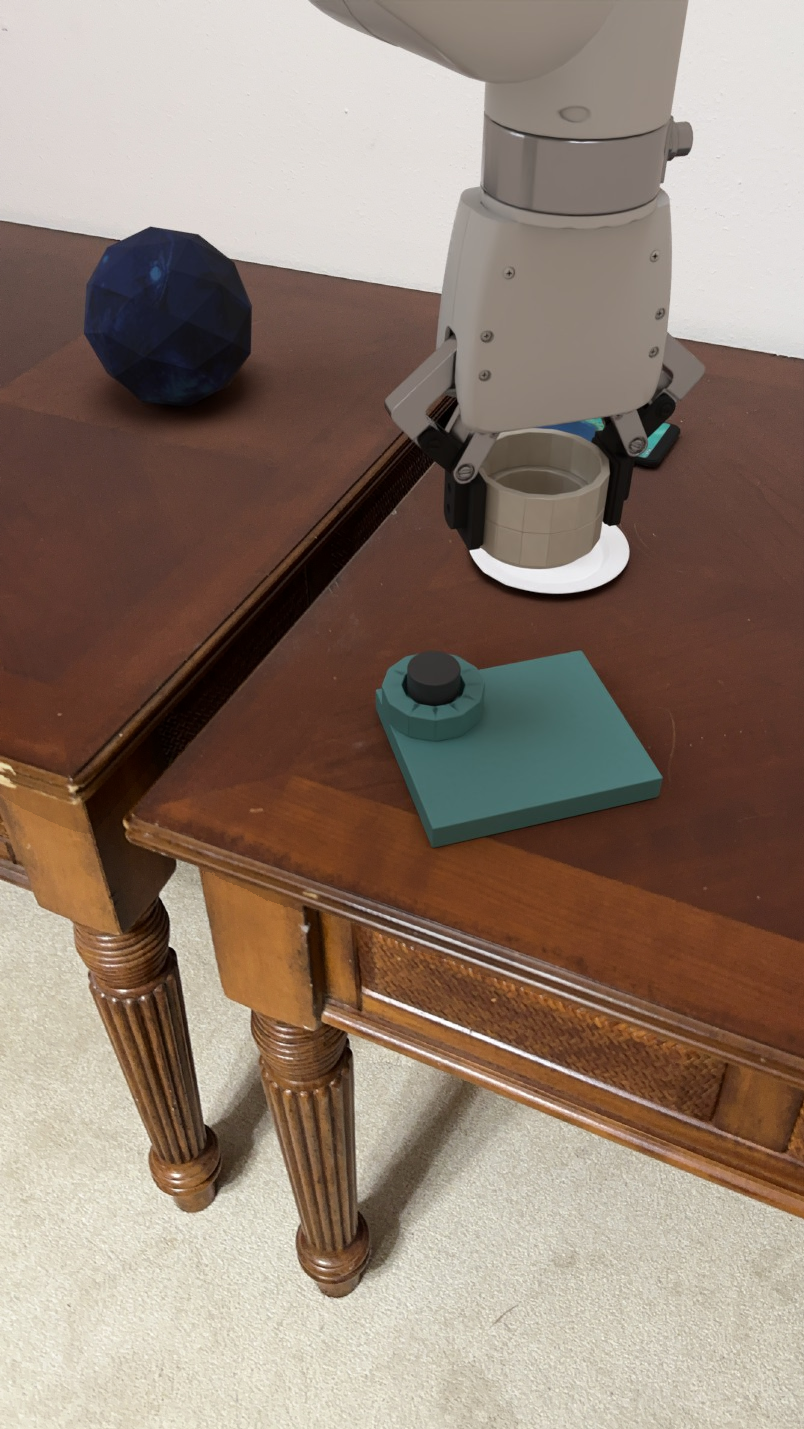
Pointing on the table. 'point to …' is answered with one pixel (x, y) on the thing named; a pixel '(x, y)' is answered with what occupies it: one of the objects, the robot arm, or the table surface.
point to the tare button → (433, 678)
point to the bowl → (543, 497)
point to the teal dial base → (514, 748)
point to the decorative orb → (168, 316)
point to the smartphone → (650, 457)
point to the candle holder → (564, 567)
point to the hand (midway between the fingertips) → (534, 521)
